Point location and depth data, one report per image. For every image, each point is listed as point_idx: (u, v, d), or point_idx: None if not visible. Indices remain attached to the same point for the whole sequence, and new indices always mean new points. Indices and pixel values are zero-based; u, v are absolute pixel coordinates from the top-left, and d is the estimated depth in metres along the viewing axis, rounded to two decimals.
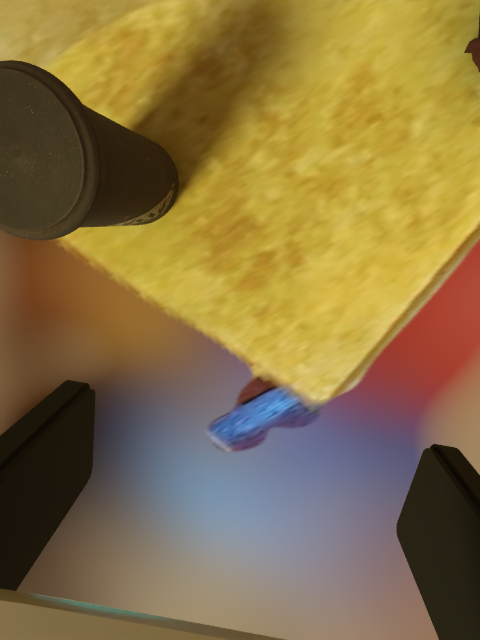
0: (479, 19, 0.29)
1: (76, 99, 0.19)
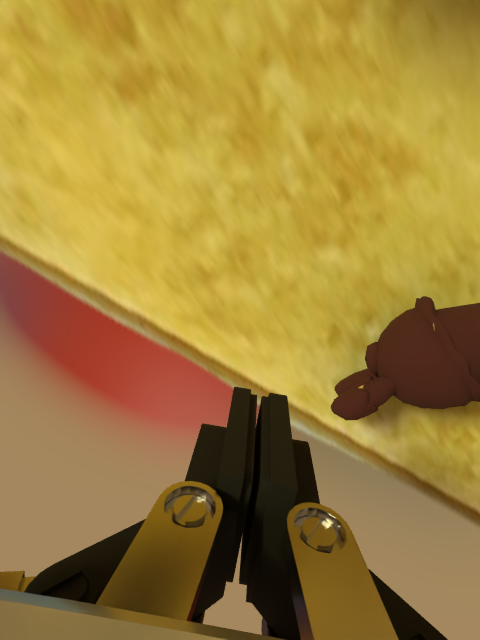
0: None
1: None
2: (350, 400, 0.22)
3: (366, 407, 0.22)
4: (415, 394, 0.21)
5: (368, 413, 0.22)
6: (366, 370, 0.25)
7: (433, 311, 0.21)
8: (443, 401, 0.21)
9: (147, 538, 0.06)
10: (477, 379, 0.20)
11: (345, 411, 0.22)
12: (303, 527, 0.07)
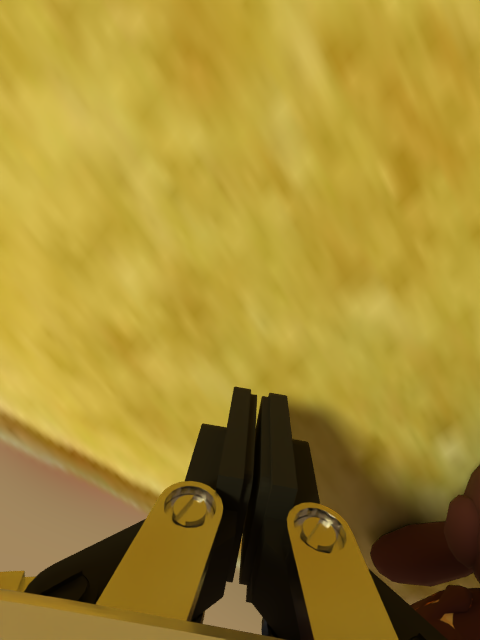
0: None
1: None
2: None
3: None
4: None
5: None
6: (436, 533, 0.13)
7: None
8: None
9: (147, 538, 0.06)
10: None
11: None
12: (303, 527, 0.07)
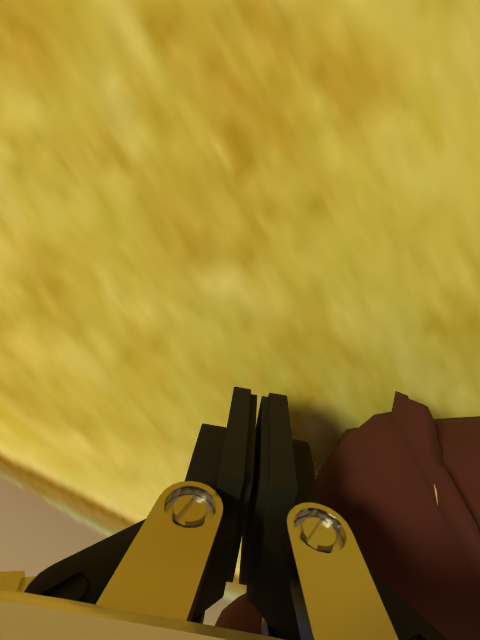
0: None
1: None
2: None
3: None
4: None
5: None
6: None
7: (434, 447, 0.09)
8: None
9: (147, 538, 0.06)
10: None
11: None
12: (303, 527, 0.07)
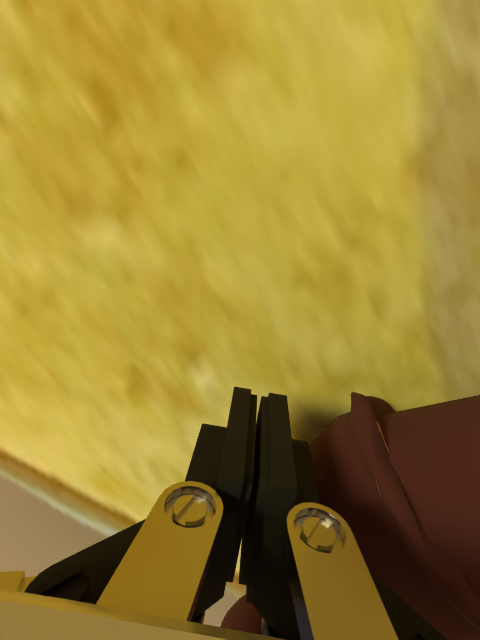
0: (428, 411, 0.10)
1: None
2: None
3: None
4: None
5: None
6: None
7: (375, 444, 0.09)
8: None
9: (147, 538, 0.06)
10: None
11: None
12: (303, 527, 0.07)
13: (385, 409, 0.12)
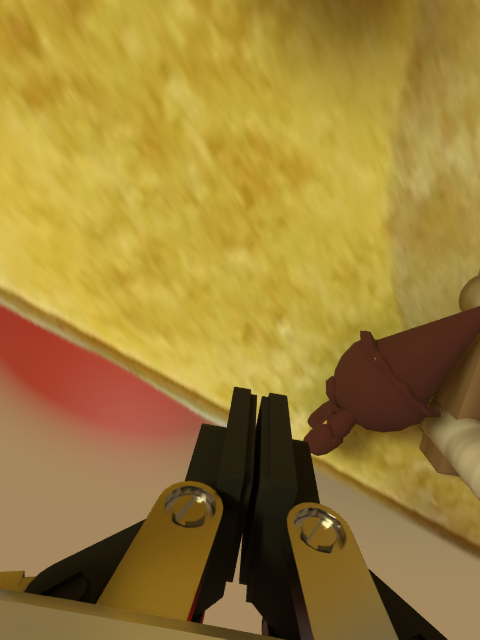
0: (394, 334, 0.24)
1: None
2: (316, 438, 0.24)
3: (332, 442, 0.23)
4: (372, 422, 0.23)
5: (335, 446, 0.24)
6: None
7: (373, 344, 0.23)
8: (398, 425, 0.23)
9: (147, 538, 0.06)
10: (423, 399, 0.22)
11: (314, 448, 0.24)
12: (303, 527, 0.07)
13: None
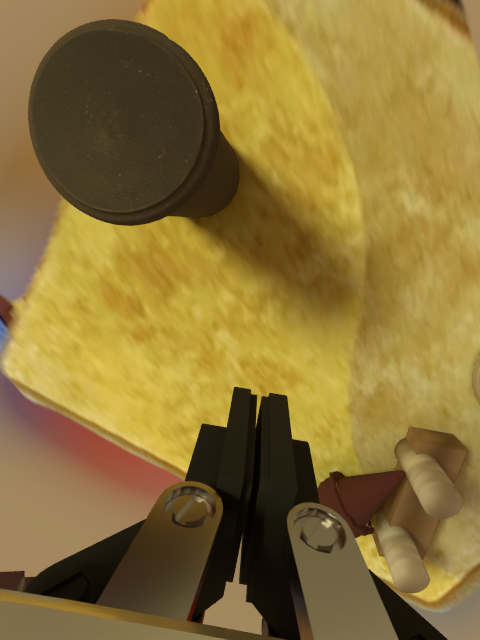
0: (348, 480, 0.40)
1: (185, 201, 0.17)
2: None
3: None
4: None
5: None
6: None
7: (334, 489, 0.39)
8: None
9: (147, 538, 0.06)
10: (362, 524, 0.38)
11: None
12: (303, 527, 0.07)
13: (339, 476, 0.42)
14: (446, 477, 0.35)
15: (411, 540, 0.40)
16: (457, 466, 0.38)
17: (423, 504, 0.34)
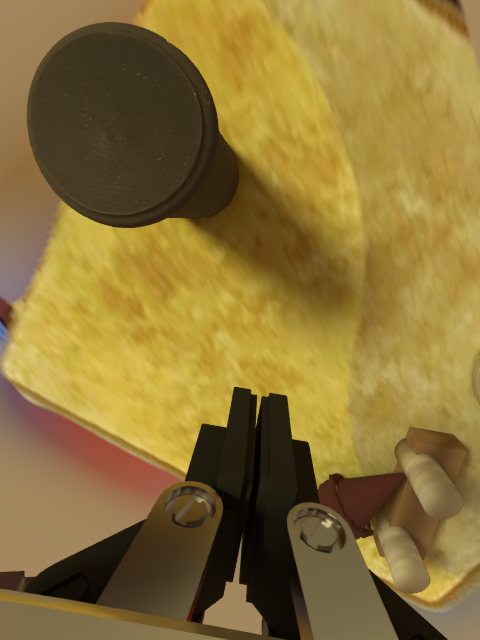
0: (348, 482, 0.40)
1: (184, 203, 0.17)
2: None
3: None
4: None
5: None
6: None
7: (334, 491, 0.39)
8: None
9: (147, 538, 0.06)
10: (362, 526, 0.39)
11: None
12: (303, 527, 0.07)
13: (339, 478, 0.42)
14: (446, 477, 0.35)
15: (411, 540, 0.40)
16: (457, 466, 0.38)
17: (423, 504, 0.34)
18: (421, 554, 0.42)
